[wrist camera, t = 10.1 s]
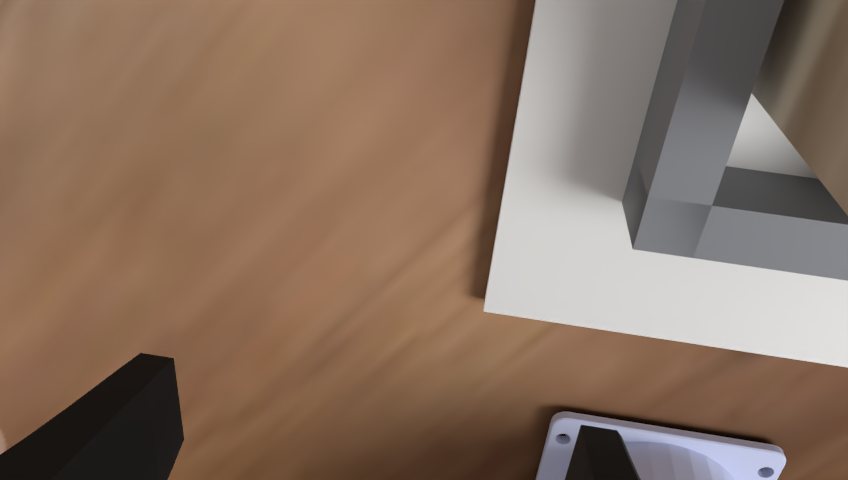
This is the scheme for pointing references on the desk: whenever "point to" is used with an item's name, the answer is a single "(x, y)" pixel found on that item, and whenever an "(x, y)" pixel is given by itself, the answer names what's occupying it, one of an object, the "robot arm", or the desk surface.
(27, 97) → the desk surface
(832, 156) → the key block
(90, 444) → the robot arm
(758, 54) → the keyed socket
